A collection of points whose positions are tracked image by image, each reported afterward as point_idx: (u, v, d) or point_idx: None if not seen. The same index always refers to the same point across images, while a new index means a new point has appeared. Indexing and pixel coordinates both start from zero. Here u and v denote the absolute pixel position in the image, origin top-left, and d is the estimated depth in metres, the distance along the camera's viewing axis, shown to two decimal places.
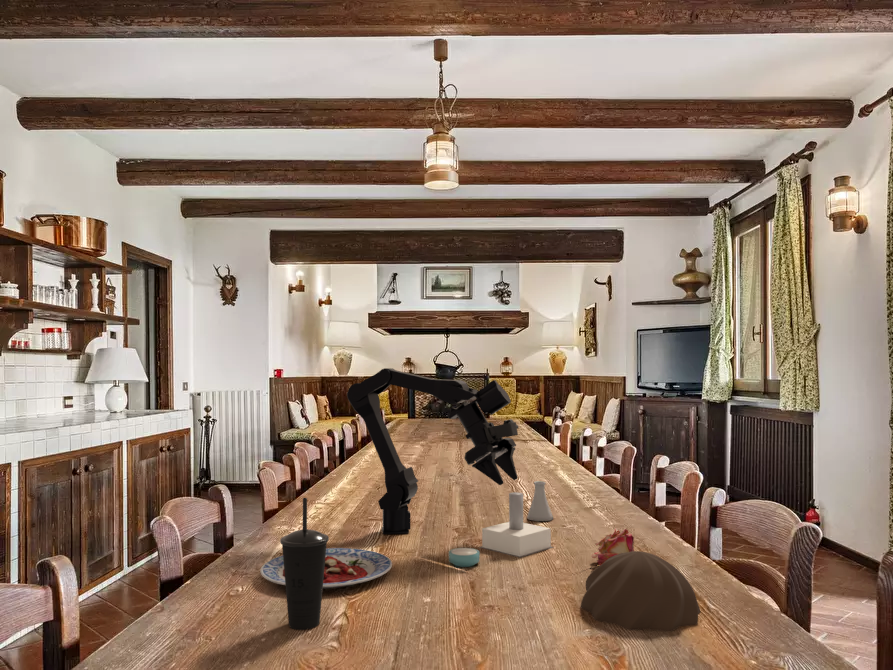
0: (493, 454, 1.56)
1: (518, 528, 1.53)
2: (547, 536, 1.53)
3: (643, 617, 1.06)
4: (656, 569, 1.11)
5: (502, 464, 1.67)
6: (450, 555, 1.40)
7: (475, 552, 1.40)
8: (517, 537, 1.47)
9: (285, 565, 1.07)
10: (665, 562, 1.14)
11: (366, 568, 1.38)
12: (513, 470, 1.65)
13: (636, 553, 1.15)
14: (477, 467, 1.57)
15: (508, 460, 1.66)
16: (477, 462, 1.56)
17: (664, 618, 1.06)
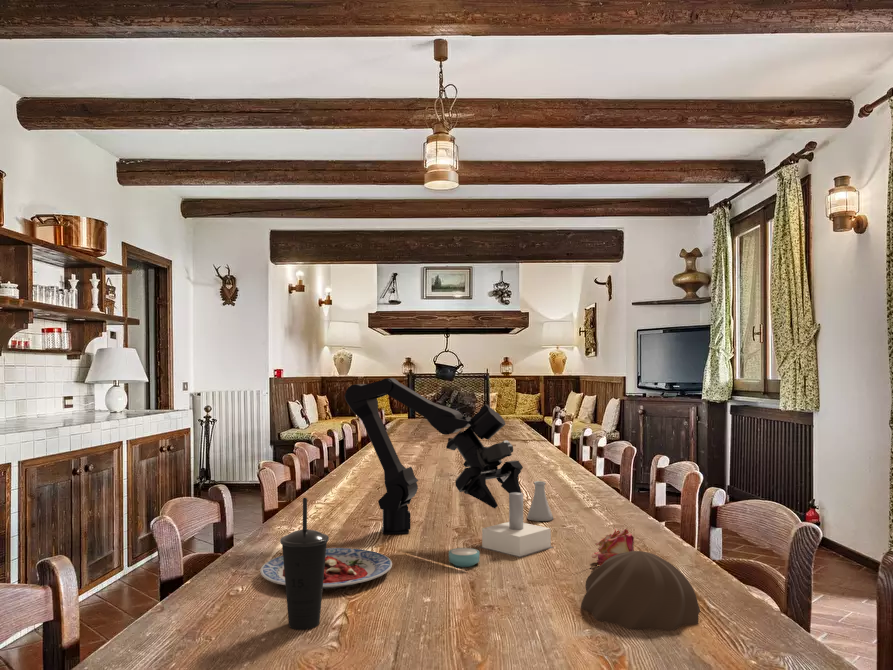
0: (481, 477, 1.54)
1: (518, 528, 1.53)
2: (547, 536, 1.53)
3: (644, 617, 1.06)
4: (657, 569, 1.11)
5: (509, 488, 1.62)
6: (450, 555, 1.40)
7: (475, 552, 1.40)
8: (517, 537, 1.47)
9: (285, 565, 1.07)
10: (665, 562, 1.14)
11: (366, 568, 1.38)
12: (518, 492, 1.60)
13: (636, 553, 1.15)
14: (470, 493, 1.56)
15: (512, 482, 1.62)
16: (467, 488, 1.55)
17: (666, 618, 1.06)
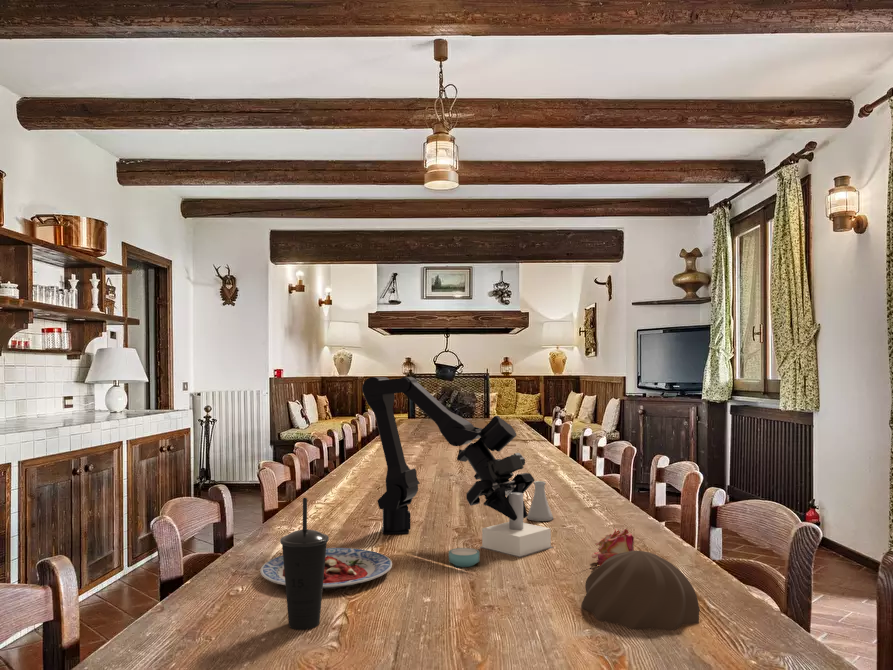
0: (501, 489, 1.53)
1: (518, 528, 1.53)
2: (547, 536, 1.53)
3: (646, 616, 1.06)
4: (658, 568, 1.12)
5: None
6: (450, 555, 1.40)
7: (475, 552, 1.40)
8: (517, 537, 1.47)
9: (285, 565, 1.07)
10: (665, 561, 1.15)
11: (366, 568, 1.38)
12: None
13: (637, 552, 1.15)
14: (490, 505, 1.55)
15: None
16: (487, 500, 1.54)
17: (667, 617, 1.07)
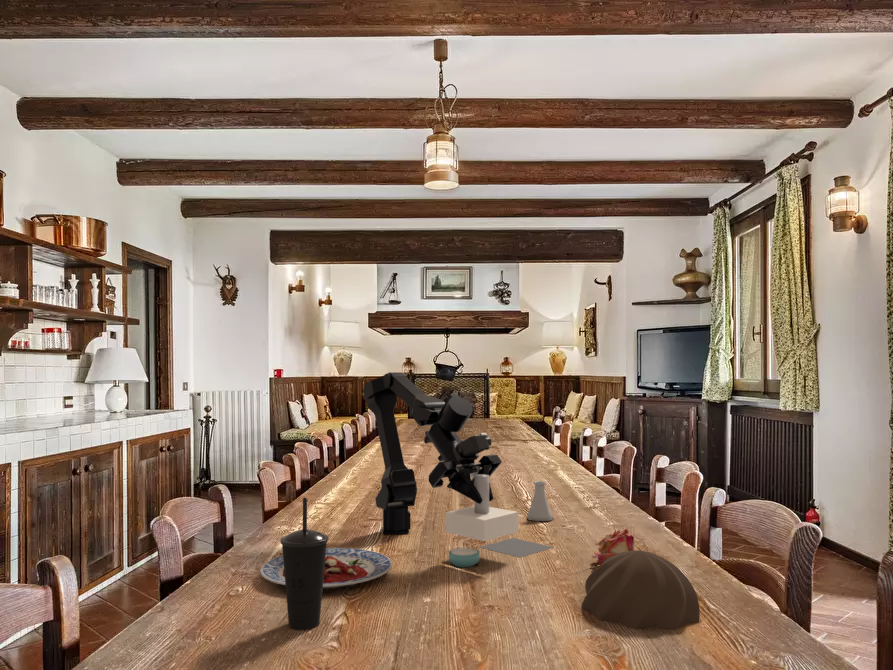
0: (465, 471, 1.44)
1: (483, 512, 1.44)
2: (514, 520, 1.45)
3: (648, 616, 1.07)
4: (659, 568, 1.12)
5: None
6: (450, 555, 1.40)
7: (475, 552, 1.40)
8: (482, 521, 1.38)
9: (285, 565, 1.07)
10: (665, 561, 1.15)
11: (366, 568, 1.38)
12: None
13: (637, 552, 1.15)
14: (454, 487, 1.46)
15: None
16: (450, 482, 1.45)
17: (669, 616, 1.07)
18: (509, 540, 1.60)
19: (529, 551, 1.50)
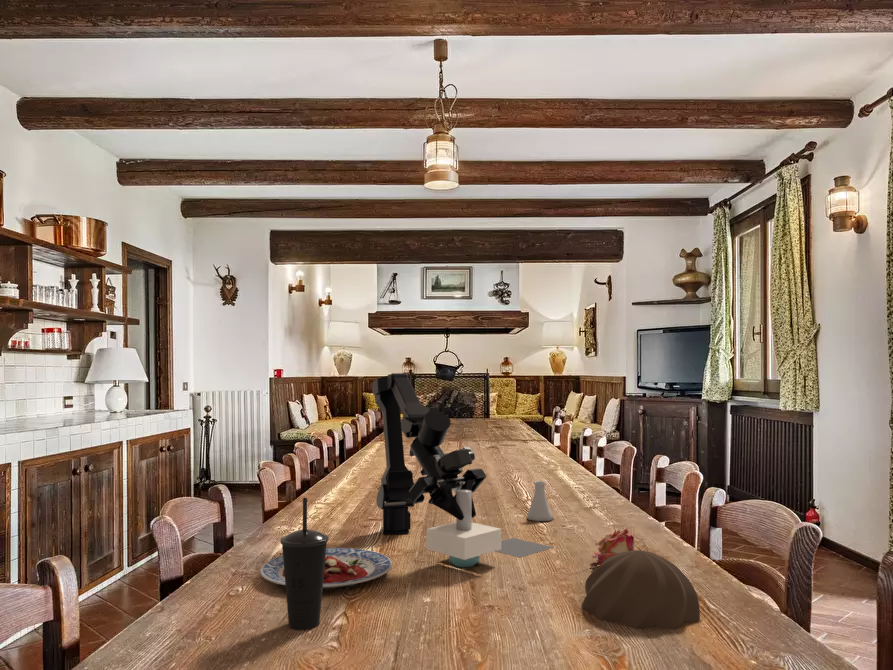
0: (447, 486, 1.40)
1: (465, 529, 1.40)
2: (497, 537, 1.40)
3: (649, 616, 1.07)
4: (659, 567, 1.12)
5: None
6: None
7: None
8: (462, 538, 1.34)
9: (285, 565, 1.07)
10: (665, 560, 1.15)
11: (366, 568, 1.38)
12: None
13: (637, 552, 1.15)
14: (435, 503, 1.42)
15: None
16: (431, 497, 1.41)
17: (670, 616, 1.07)
18: (509, 540, 1.60)
19: (529, 551, 1.50)
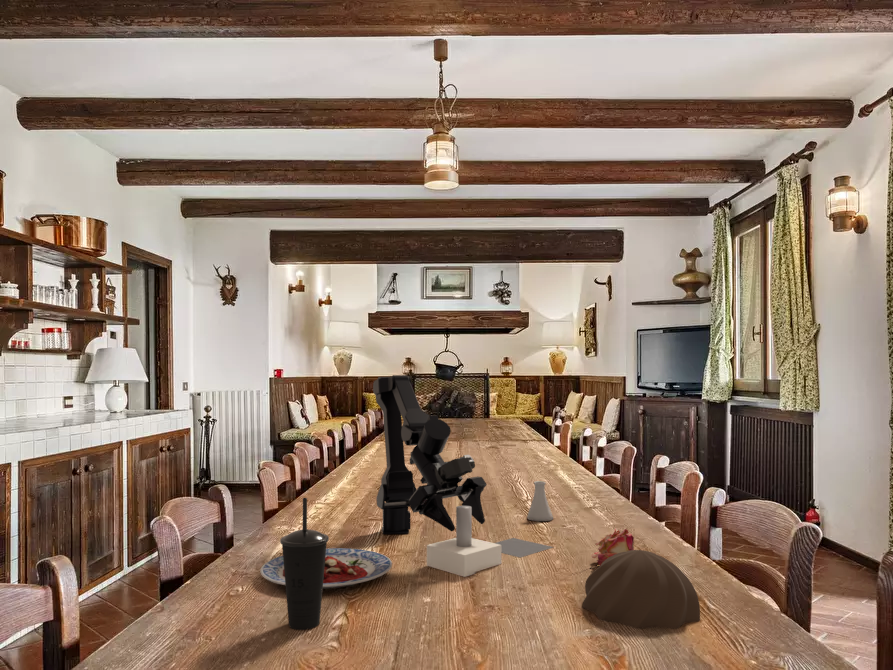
0: (437, 496, 1.38)
1: (465, 545, 1.40)
2: (497, 554, 1.40)
3: (650, 616, 1.07)
4: (659, 567, 1.12)
5: None
6: None
7: None
8: (462, 555, 1.34)
9: (285, 565, 1.07)
10: (666, 560, 1.15)
11: (366, 568, 1.38)
12: (479, 512, 1.44)
13: (637, 552, 1.16)
14: (426, 514, 1.40)
15: (474, 501, 1.46)
16: (422, 508, 1.39)
17: (671, 616, 1.07)
18: (509, 540, 1.60)
19: (529, 551, 1.50)
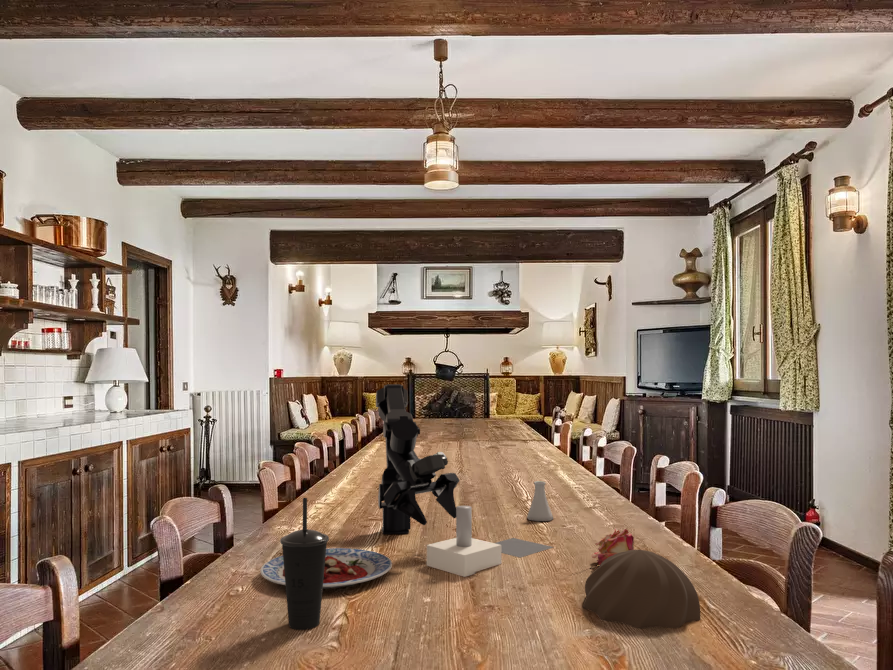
0: (410, 492, 1.44)
1: (465, 545, 1.40)
2: (497, 554, 1.40)
3: (652, 615, 1.07)
4: (660, 566, 1.12)
5: (443, 502, 1.53)
6: None
7: None
8: (462, 555, 1.34)
9: (285, 565, 1.07)
10: (665, 559, 1.16)
11: (366, 568, 1.38)
12: (452, 507, 1.51)
13: (638, 551, 1.16)
14: (399, 508, 1.46)
15: (447, 496, 1.52)
16: (396, 503, 1.45)
17: (672, 615, 1.08)
18: (509, 540, 1.60)
19: (529, 551, 1.50)
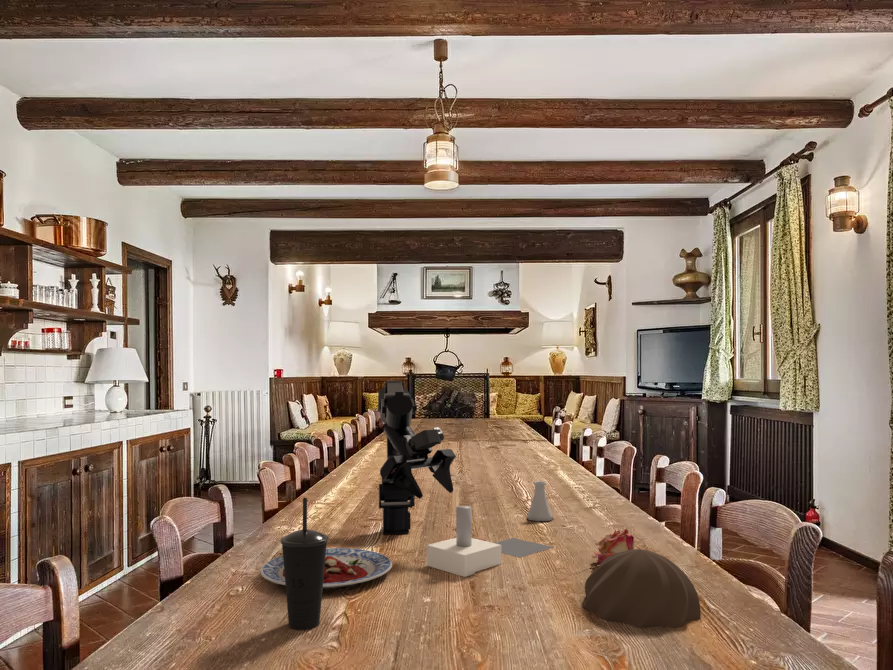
0: (406, 466, 1.45)
1: (465, 545, 1.40)
2: (497, 554, 1.40)
3: (653, 615, 1.07)
4: (661, 566, 1.13)
5: (440, 478, 1.54)
6: None
7: None
8: (462, 555, 1.34)
9: (285, 565, 1.07)
10: (665, 559, 1.16)
11: (366, 568, 1.38)
12: (448, 482, 1.51)
13: (638, 551, 1.16)
14: (396, 482, 1.47)
15: (443, 472, 1.53)
16: (392, 477, 1.46)
17: (673, 614, 1.08)
18: (509, 540, 1.60)
19: (529, 551, 1.50)
